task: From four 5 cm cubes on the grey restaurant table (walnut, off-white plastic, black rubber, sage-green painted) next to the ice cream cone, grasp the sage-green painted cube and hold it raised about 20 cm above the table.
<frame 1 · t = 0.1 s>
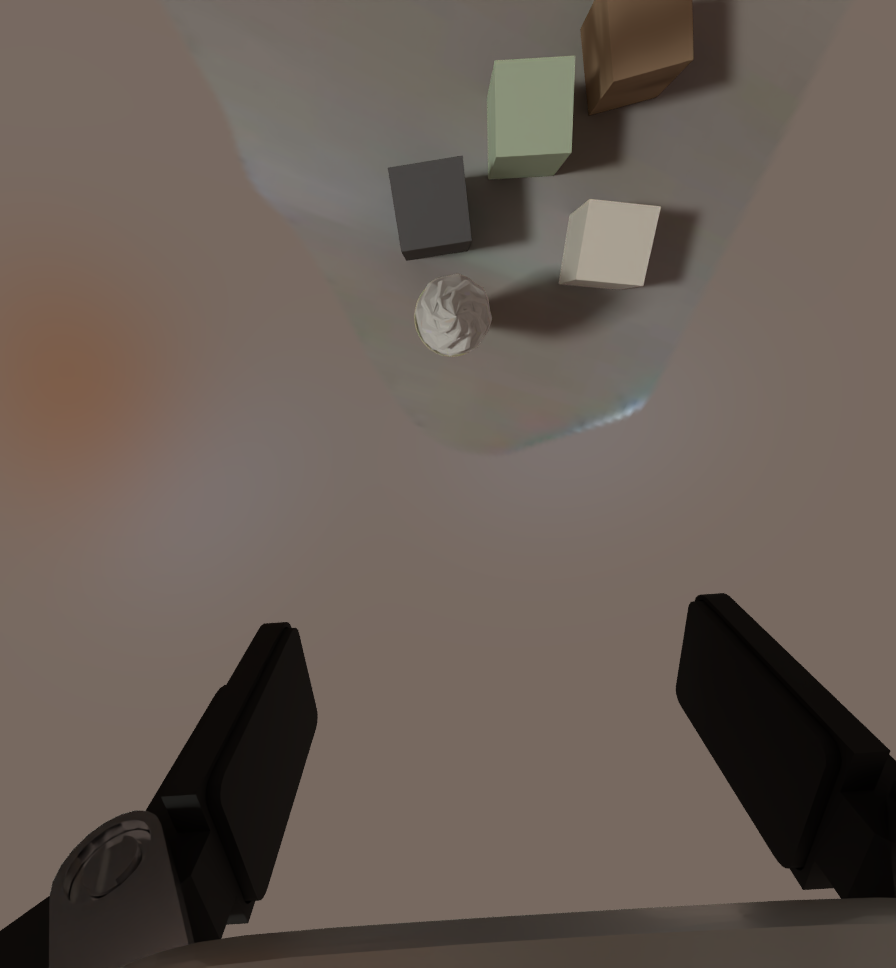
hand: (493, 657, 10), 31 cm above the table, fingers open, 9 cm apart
ice cream cone: (449, 317, 37), on the table
offwhite block: (593, 253, 35), on the table
black block: (432, 220, 34), on the table
sage block: (520, 138, 32), on the table
walnut block: (619, 64, 31), on the table
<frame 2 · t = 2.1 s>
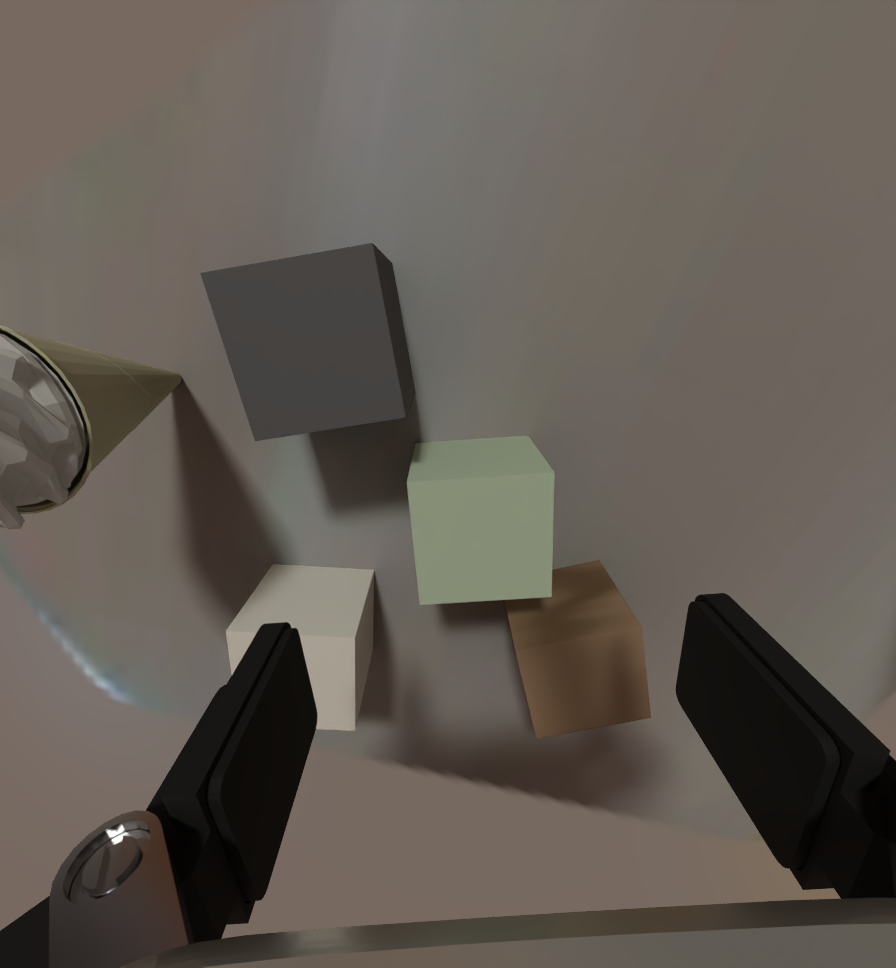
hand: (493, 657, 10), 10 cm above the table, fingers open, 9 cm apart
ice cream cone: (178, 377, 18), on the table
offwhite block: (325, 607, 23), on the table
black block: (344, 340, 18), on the table
sage block: (474, 490, 20), on the table
walnut block: (556, 609, 23), on the table
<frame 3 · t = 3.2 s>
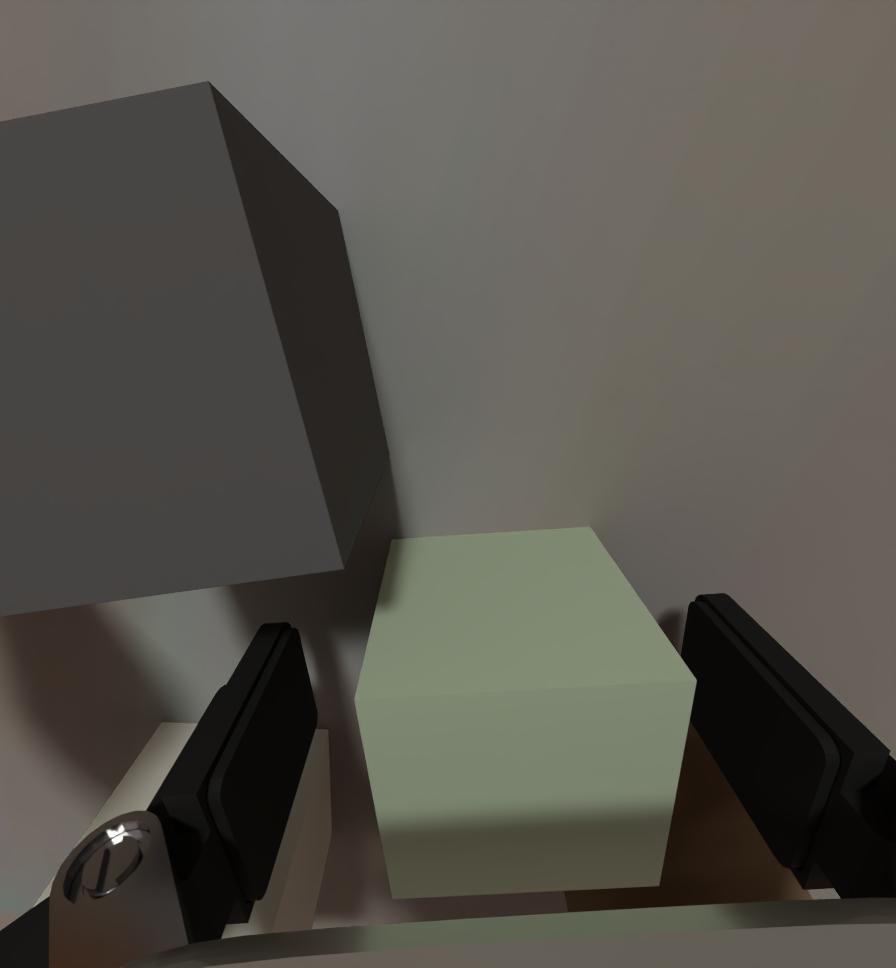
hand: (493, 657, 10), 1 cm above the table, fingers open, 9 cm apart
offwhite block: (253, 779, 14), on the table
black block: (254, 362, 9), on the table
sage block: (493, 612, 12), on the table
walnut block: (620, 779, 14), on the table
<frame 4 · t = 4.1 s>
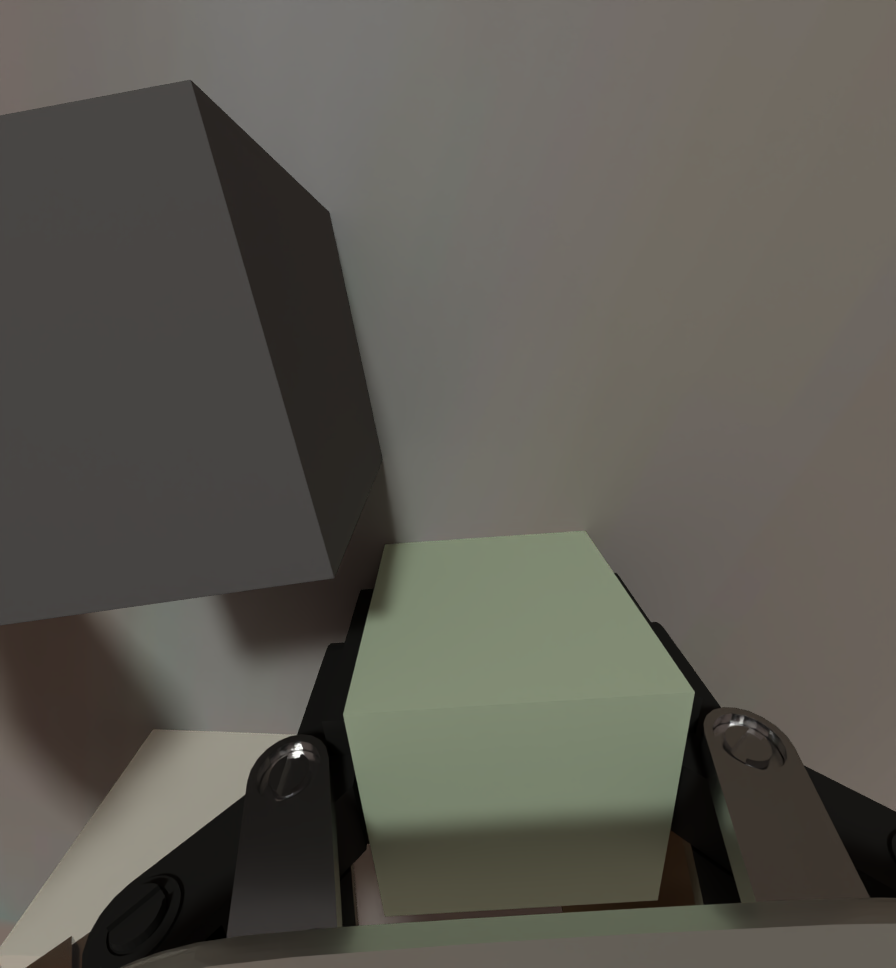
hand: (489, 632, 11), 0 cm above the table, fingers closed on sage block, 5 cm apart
offwhite block: (247, 786, 14), on the table
black block: (245, 365, 9), on the table
sage block: (488, 619, 12), on the table, touching gripper
walnut block: (616, 784, 14), on the table
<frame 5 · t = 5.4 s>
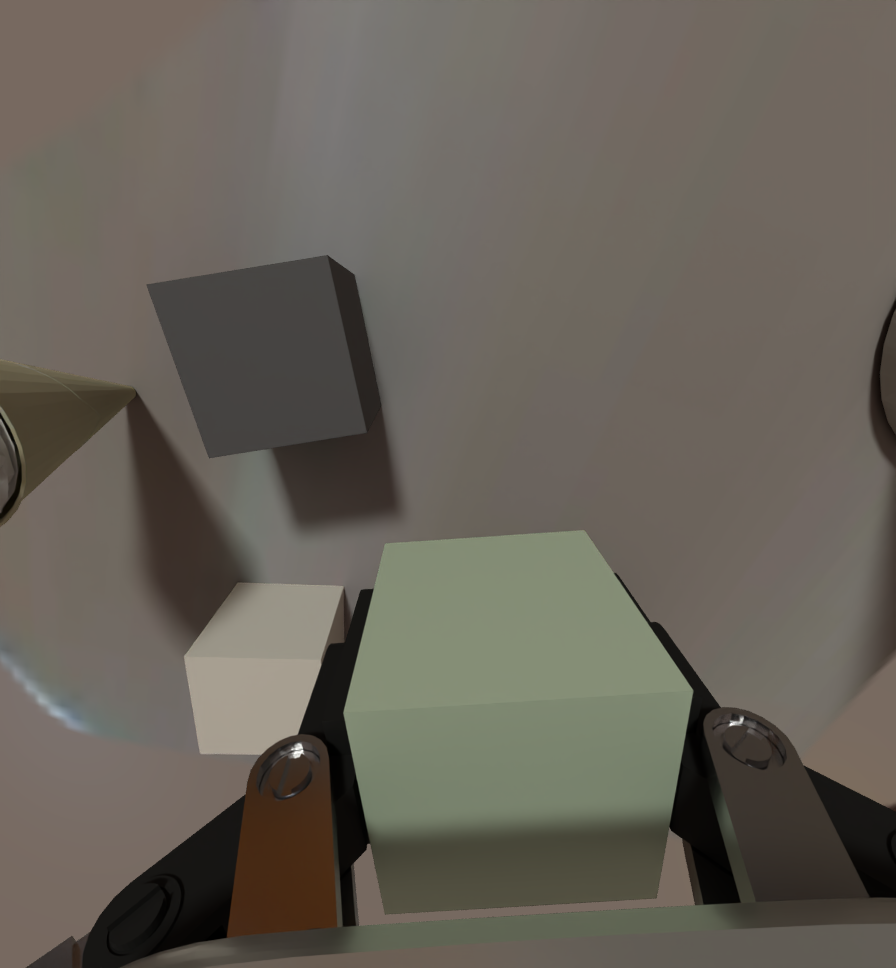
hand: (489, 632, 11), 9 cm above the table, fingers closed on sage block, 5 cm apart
ice cream cone: (133, 391, 18), on the table
offwhite block: (294, 626, 22), on the table
black block: (307, 353, 17), on the table
sage block: (487, 618, 12), point 9 cm above the table, touching gripper
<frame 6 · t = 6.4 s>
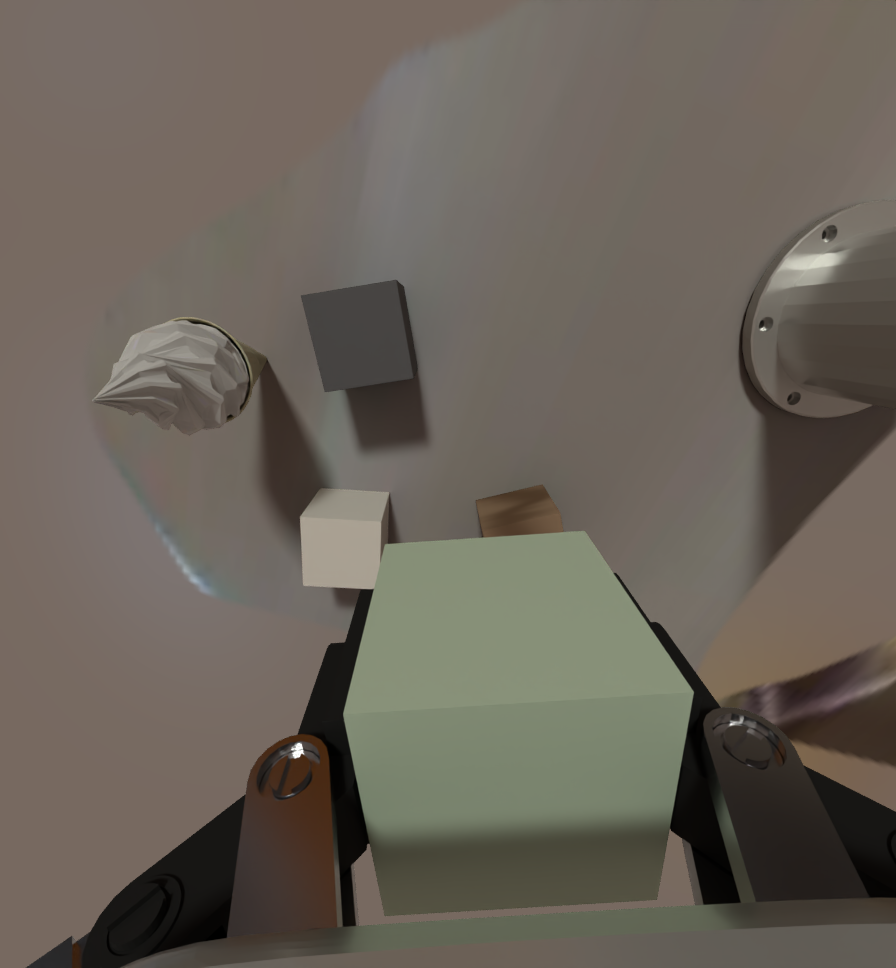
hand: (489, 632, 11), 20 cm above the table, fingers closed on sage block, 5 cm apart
ice cream cone: (264, 359, 28), on the table
offwhite block: (355, 520, 32), on the table
black block: (372, 335, 28), on the table
sage block: (487, 619, 12), point 20 cm above the table, touching gripper
walnut block: (515, 521, 33), on the table
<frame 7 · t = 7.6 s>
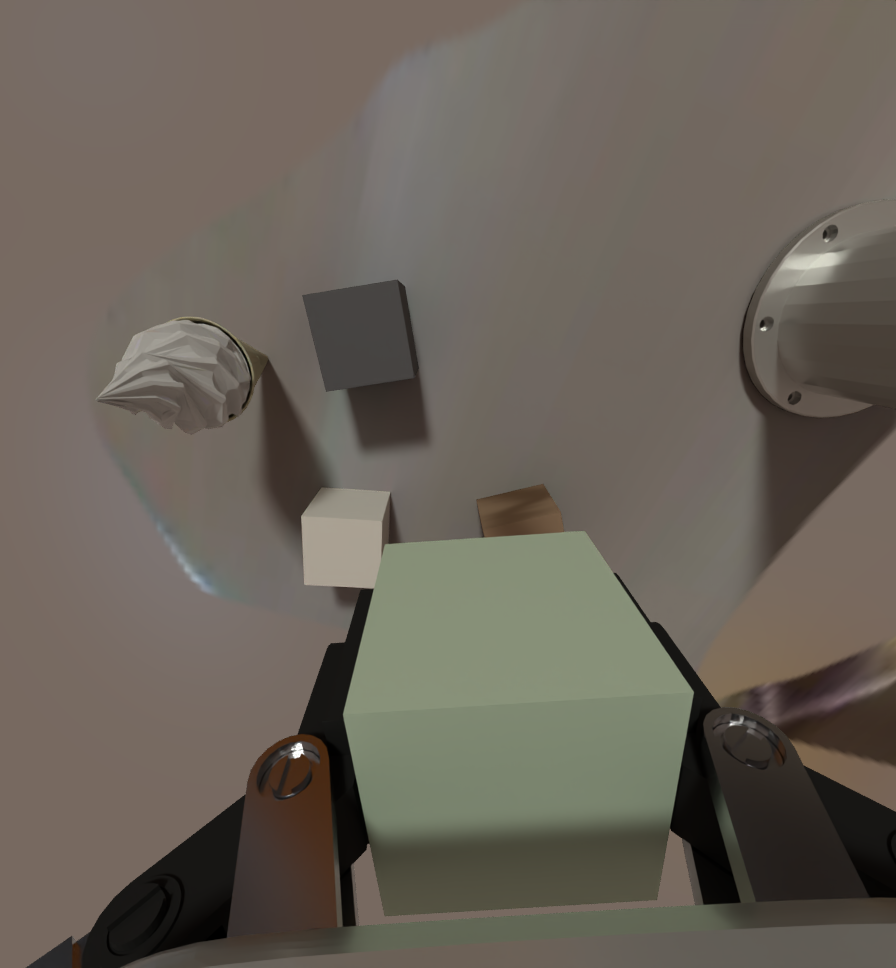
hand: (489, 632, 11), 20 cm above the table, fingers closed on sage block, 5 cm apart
ice cream cone: (265, 358, 28), on the table
offwhite block: (356, 520, 33), on the table
black block: (373, 334, 28), on the table
sage block: (487, 619, 12), point 20 cm above the table, touching gripper
walnut block: (515, 521, 33), on the table
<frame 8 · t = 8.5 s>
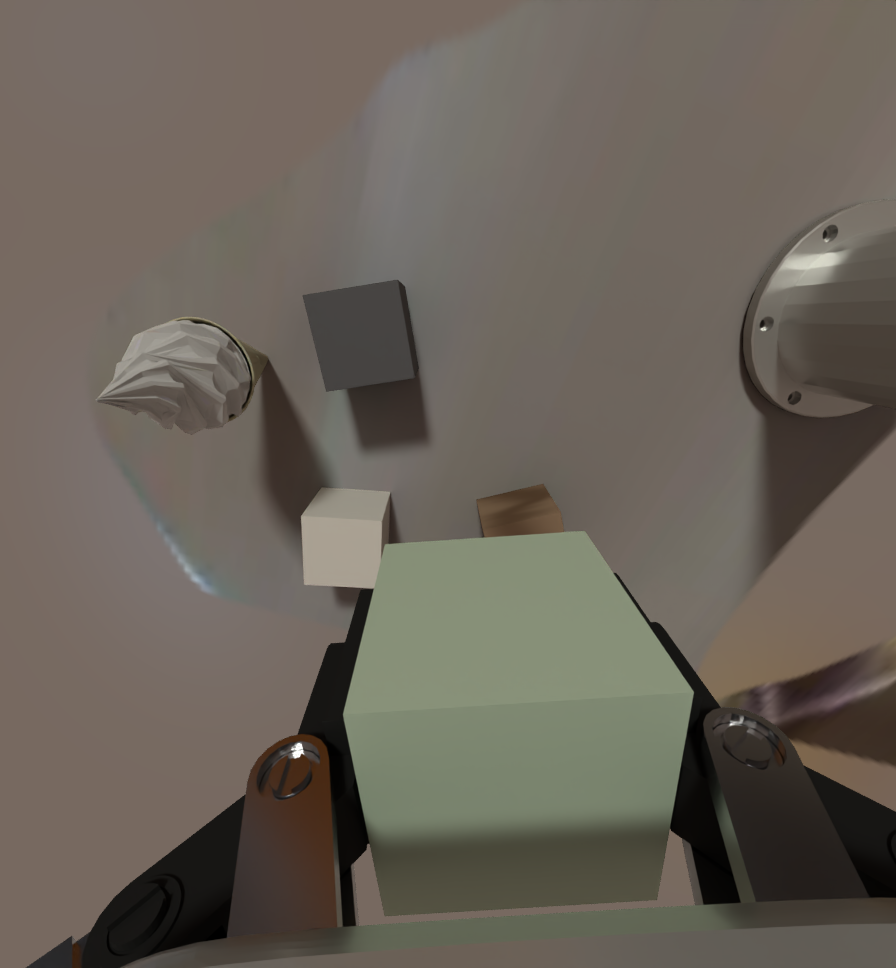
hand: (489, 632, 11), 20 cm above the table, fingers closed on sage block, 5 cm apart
ice cream cone: (265, 358, 28), on the table
offwhite block: (356, 520, 33), on the table
black block: (373, 334, 28), on the table
sage block: (487, 619, 12), point 20 cm above the table, touching gripper
walnut block: (515, 521, 33), on the table
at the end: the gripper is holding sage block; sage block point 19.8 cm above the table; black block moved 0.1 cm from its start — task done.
